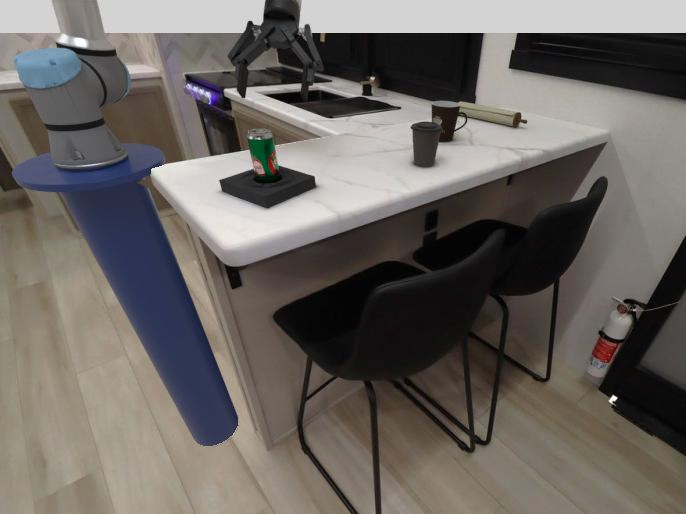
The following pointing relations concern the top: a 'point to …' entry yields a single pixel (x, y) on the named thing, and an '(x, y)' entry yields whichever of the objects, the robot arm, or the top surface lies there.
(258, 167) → the soda can
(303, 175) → the socket pad
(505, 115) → the rolling pin
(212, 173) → the top surface
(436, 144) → the coffee cup
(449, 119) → the coffee mug
